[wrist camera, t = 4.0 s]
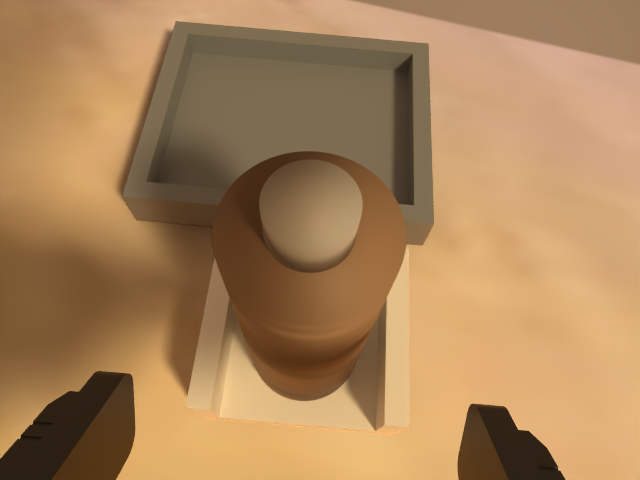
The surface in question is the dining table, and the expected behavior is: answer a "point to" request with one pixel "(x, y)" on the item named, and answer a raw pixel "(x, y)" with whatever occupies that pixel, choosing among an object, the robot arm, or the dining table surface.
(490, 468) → the robot arm
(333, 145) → the serving tray
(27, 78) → the dining table surface
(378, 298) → the pepper mill
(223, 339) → the caddy slot
